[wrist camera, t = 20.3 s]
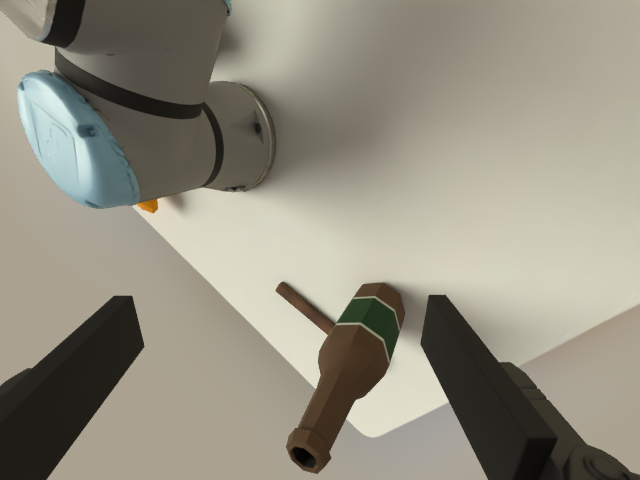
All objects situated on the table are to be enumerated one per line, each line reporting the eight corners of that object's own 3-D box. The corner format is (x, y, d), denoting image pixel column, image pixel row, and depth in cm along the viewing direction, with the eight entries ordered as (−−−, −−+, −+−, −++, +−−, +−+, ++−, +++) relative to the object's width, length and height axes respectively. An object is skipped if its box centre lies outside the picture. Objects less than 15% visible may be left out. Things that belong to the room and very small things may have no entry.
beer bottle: (343, 293, 46) (245, 427, 25) (385, 270, 42) (307, 409, 21) (373, 334, 46) (300, 500, 26) (417, 315, 42) (372, 496, 21)
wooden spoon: (274, 294, 52) (270, 298, 51) (287, 273, 49) (283, 276, 48) (368, 374, 49) (366, 379, 48) (388, 356, 46) (386, 361, 45)
